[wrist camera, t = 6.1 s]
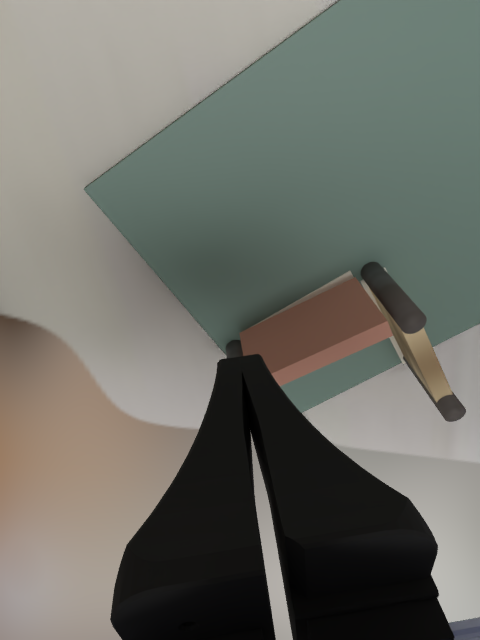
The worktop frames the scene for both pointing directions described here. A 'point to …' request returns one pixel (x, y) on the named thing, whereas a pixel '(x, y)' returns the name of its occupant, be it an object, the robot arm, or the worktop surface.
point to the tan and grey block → (403, 339)
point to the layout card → (321, 180)
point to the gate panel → (317, 332)
